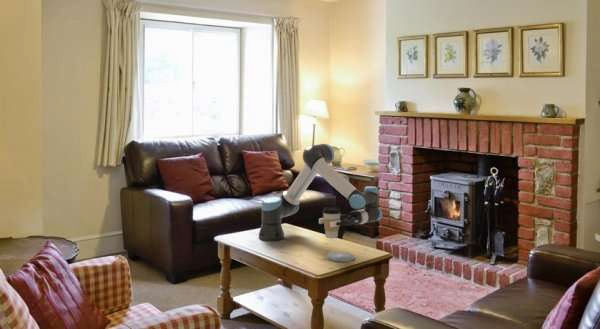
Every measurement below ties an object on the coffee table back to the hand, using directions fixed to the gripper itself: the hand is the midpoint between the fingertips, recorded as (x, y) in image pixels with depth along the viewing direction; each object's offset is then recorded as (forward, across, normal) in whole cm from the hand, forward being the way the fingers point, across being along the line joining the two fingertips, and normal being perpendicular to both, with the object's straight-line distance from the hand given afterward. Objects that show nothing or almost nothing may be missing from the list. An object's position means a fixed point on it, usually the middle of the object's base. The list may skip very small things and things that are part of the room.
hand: (324, 222), depth 300 cm
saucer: (-8, -4, -19) cm, 21 cm away
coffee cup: (-5, 0, -8) cm, 9 cm away
